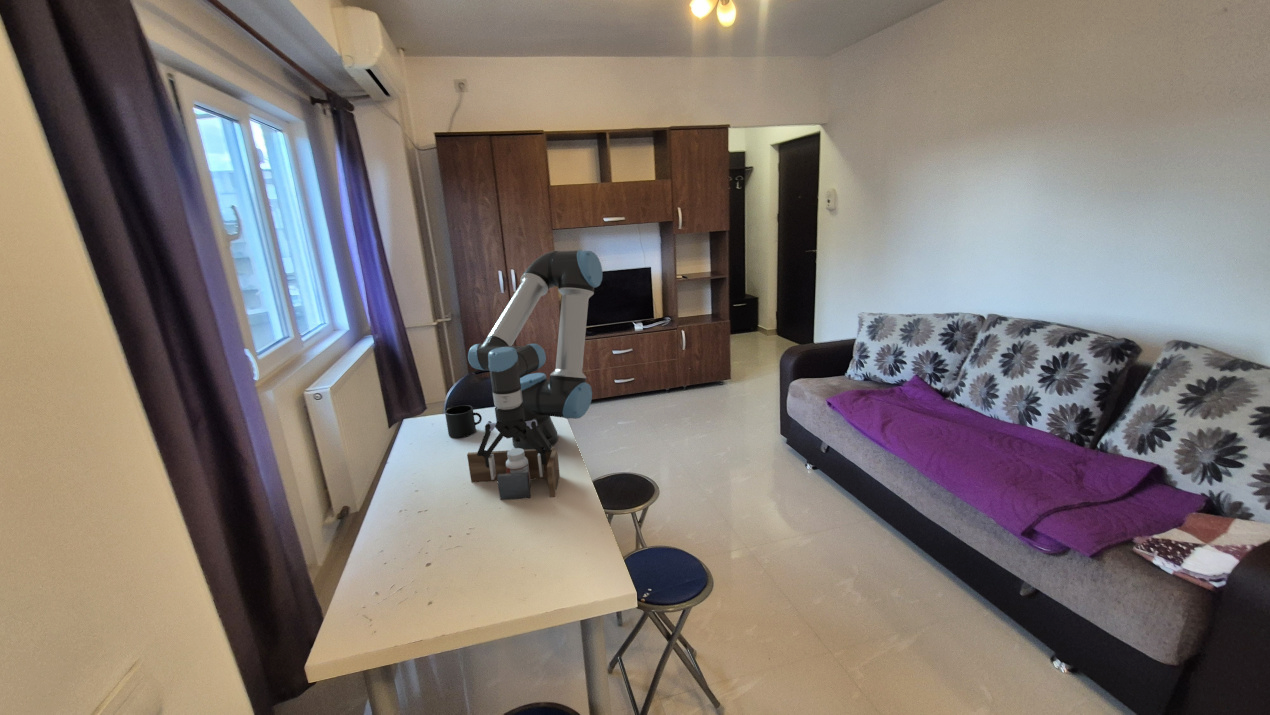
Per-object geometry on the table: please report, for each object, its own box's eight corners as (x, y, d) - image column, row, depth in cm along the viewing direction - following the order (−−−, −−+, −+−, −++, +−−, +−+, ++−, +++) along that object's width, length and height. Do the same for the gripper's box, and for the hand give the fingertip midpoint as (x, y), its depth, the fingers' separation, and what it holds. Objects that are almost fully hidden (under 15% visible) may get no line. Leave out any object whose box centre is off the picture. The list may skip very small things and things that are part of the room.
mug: (483, 434, 185) (480, 410, 182) (448, 440, 182) (444, 416, 179) (483, 425, 193) (479, 402, 191) (449, 430, 190) (445, 407, 188)
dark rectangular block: (501, 496, 143) (498, 473, 141) (530, 495, 142) (527, 472, 141) (500, 499, 141) (497, 476, 139) (529, 498, 141) (526, 475, 139)
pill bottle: (511, 482, 150) (507, 447, 147) (533, 481, 150) (528, 446, 147) (506, 493, 144) (501, 457, 141) (528, 492, 144) (524, 456, 141)
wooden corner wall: (472, 480, 152) (468, 452, 150) (560, 475, 152) (557, 447, 150) (460, 501, 141) (455, 471, 139) (554, 496, 141) (551, 466, 139)
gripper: (458, 412, 137) (469, 485, 142) (552, 407, 136) (560, 480, 142) (467, 402, 144) (477, 471, 150) (556, 397, 144) (563, 467, 149)
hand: (518, 476), depth 146 cm, fingers open, 13 cm apart
